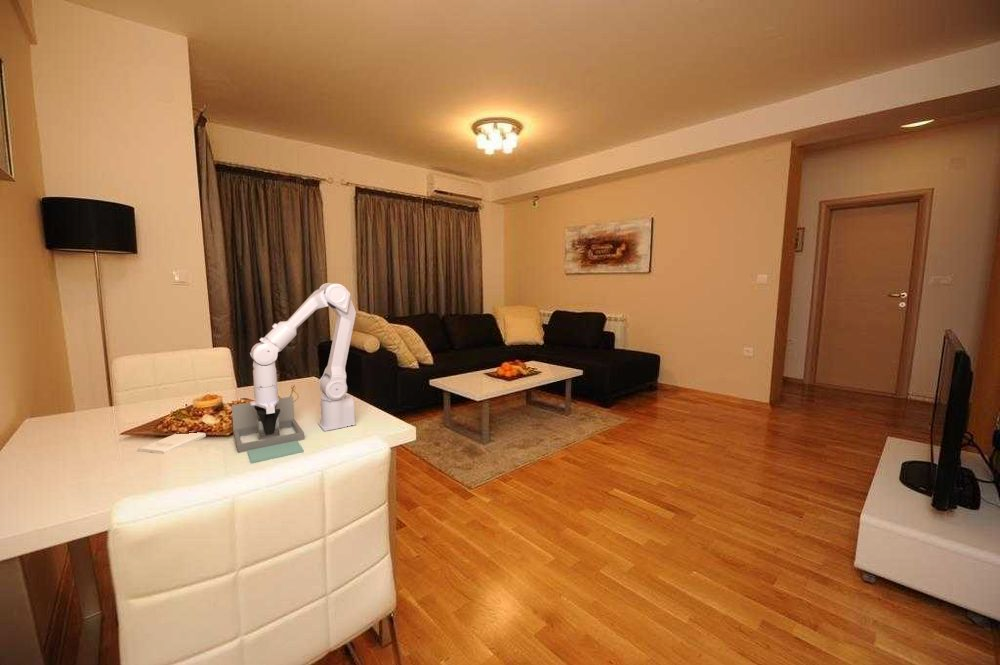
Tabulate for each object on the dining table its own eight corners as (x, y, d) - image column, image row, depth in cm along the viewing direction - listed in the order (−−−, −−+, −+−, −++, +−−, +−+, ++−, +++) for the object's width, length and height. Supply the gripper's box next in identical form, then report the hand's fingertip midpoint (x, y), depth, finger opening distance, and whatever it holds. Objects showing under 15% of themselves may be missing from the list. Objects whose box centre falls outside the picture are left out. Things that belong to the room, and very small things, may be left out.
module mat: (297, 442, 115) (297, 440, 115) (303, 451, 109) (303, 450, 109) (247, 452, 108) (247, 450, 108) (250, 463, 102) (250, 461, 102)
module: (277, 433, 121) (276, 414, 121) (279, 438, 118) (278, 418, 117) (258, 437, 118) (256, 417, 118) (259, 442, 115) (258, 421, 114)
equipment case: (294, 424, 129) (292, 396, 128) (304, 439, 117) (302, 408, 116) (233, 435, 120) (231, 405, 119) (238, 452, 108) (235, 419, 107)
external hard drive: (206, 438, 119) (164, 456, 107) (182, 436, 120) (138, 453, 108) (205, 433, 119) (163, 450, 107) (181, 430, 120) (137, 447, 108)
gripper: (246, 381, 120) (249, 426, 121) (252, 393, 108) (255, 442, 110) (273, 378, 124) (276, 422, 126) (282, 389, 112) (284, 437, 114)
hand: (268, 431), depth 118 cm, fingers closed on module, 4 cm apart
